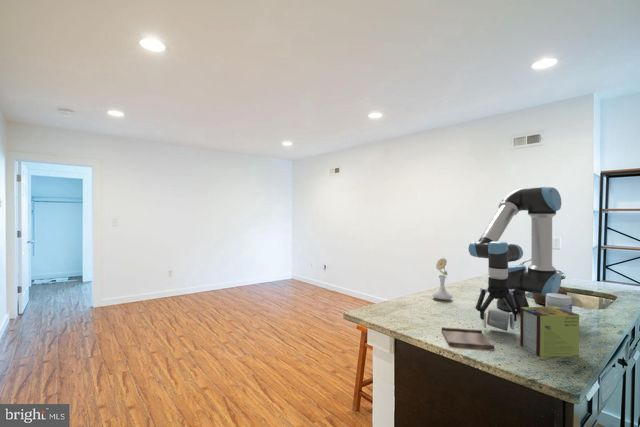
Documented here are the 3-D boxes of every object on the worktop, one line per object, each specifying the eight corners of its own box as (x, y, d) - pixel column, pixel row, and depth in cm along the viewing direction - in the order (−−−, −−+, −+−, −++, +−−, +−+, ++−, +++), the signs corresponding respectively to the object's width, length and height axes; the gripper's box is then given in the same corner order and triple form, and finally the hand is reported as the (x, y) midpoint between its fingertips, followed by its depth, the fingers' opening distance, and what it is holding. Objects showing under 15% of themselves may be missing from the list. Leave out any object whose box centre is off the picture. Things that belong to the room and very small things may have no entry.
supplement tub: (575, 333, 137) (576, 299, 137) (550, 330, 140) (550, 297, 139) (566, 325, 146) (566, 293, 146) (542, 322, 149) (542, 292, 149)
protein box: (579, 357, 114) (580, 314, 114) (539, 358, 113) (540, 315, 113) (555, 344, 125) (556, 305, 124) (519, 346, 123) (519, 306, 123)
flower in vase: (430, 295, 196) (430, 255, 196) (449, 296, 194) (449, 256, 194) (435, 301, 183) (435, 258, 183) (455, 302, 181) (456, 259, 181)
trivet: (481, 334, 134) (481, 330, 134) (494, 351, 119) (494, 345, 119) (441, 331, 137) (441, 327, 137) (449, 347, 122) (449, 342, 122)
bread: (527, 302, 182) (528, 288, 182) (540, 291, 208) (540, 278, 208) (561, 308, 171) (561, 293, 171) (570, 296, 197) (570, 282, 197)
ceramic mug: (486, 326, 142) (489, 309, 144) (507, 332, 138) (509, 315, 140) (485, 321, 134) (489, 304, 136) (508, 328, 129) (511, 310, 132)
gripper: (523, 276, 139) (523, 325, 139) (467, 274, 143) (467, 322, 144) (531, 280, 132) (531, 332, 132) (472, 278, 136) (472, 329, 136)
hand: (498, 327), depth 138 cm, fingers closed on ceramic mug, 10 cm apart
